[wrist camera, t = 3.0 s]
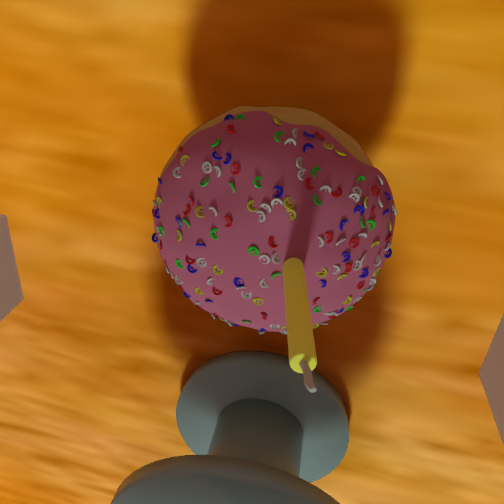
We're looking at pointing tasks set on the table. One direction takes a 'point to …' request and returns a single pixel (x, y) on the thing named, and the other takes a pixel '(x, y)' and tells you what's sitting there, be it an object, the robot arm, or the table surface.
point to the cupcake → (273, 222)
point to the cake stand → (248, 437)
